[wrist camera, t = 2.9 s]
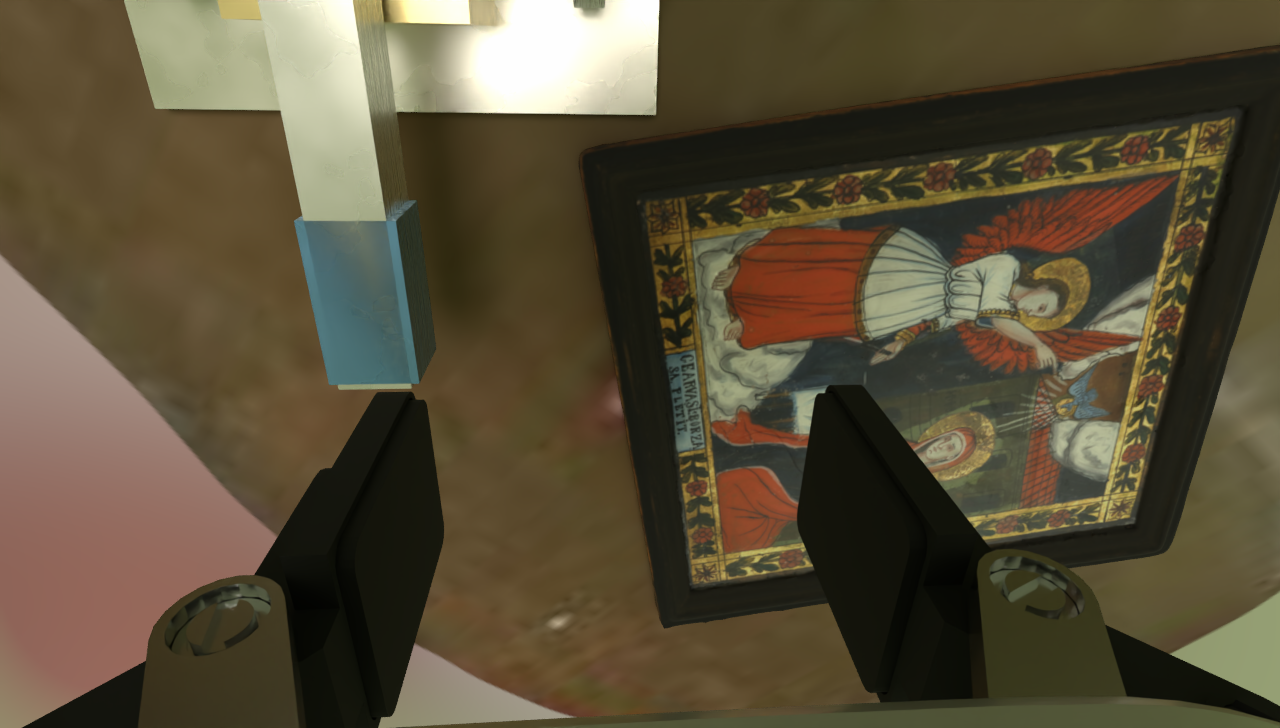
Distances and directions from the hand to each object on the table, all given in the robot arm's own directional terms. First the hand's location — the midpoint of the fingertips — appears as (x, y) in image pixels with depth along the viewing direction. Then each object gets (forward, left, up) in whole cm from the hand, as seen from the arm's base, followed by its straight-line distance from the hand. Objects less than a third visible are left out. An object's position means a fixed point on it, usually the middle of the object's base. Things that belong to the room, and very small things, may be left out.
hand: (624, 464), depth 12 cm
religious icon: (-19, +11, -25) cm, 33 cm away
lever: (+8, -4, -15) cm, 18 cm away
